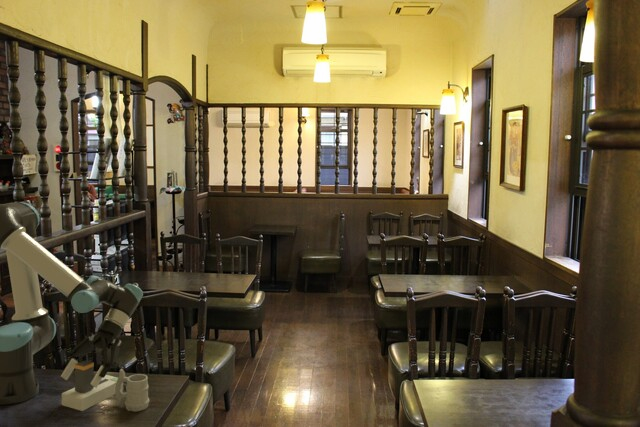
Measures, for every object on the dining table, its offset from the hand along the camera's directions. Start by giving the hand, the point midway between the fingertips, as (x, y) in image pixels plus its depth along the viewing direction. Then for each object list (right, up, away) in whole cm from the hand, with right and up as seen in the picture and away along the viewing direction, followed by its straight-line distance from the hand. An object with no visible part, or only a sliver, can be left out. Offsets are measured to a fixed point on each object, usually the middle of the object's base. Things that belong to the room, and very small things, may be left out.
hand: (78, 382), depth 171 cm
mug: (+17, -9, +2) cm, 19 cm away
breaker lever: (+1, -3, +3) cm, 4 cm away
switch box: (+2, -7, +7) cm, 10 cm away
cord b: (+8, -7, +18) cm, 21 cm away
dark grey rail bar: (+7, -7, +16) cm, 19 cm away
